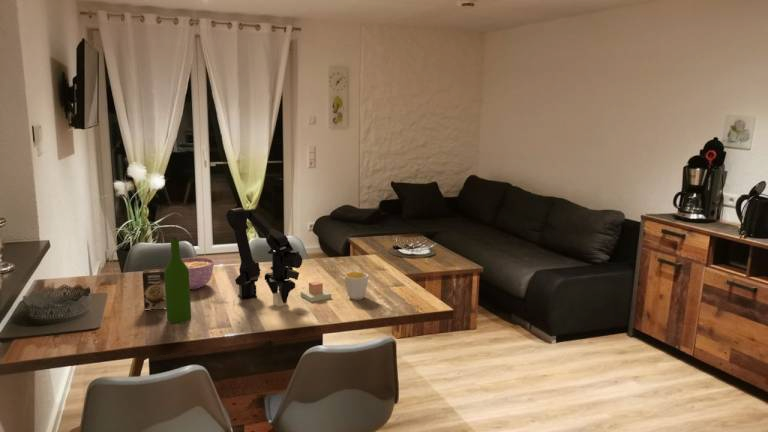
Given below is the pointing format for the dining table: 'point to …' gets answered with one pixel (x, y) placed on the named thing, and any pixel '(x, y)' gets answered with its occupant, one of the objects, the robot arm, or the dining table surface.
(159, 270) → the coffee box
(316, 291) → the orange brown cube
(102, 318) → the dining table surface
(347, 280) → the mug
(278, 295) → the brick cream
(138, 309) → the dining table surface
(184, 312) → the wine bottle
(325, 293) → the base plate
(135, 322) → the dining table surface
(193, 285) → the bowl of food
